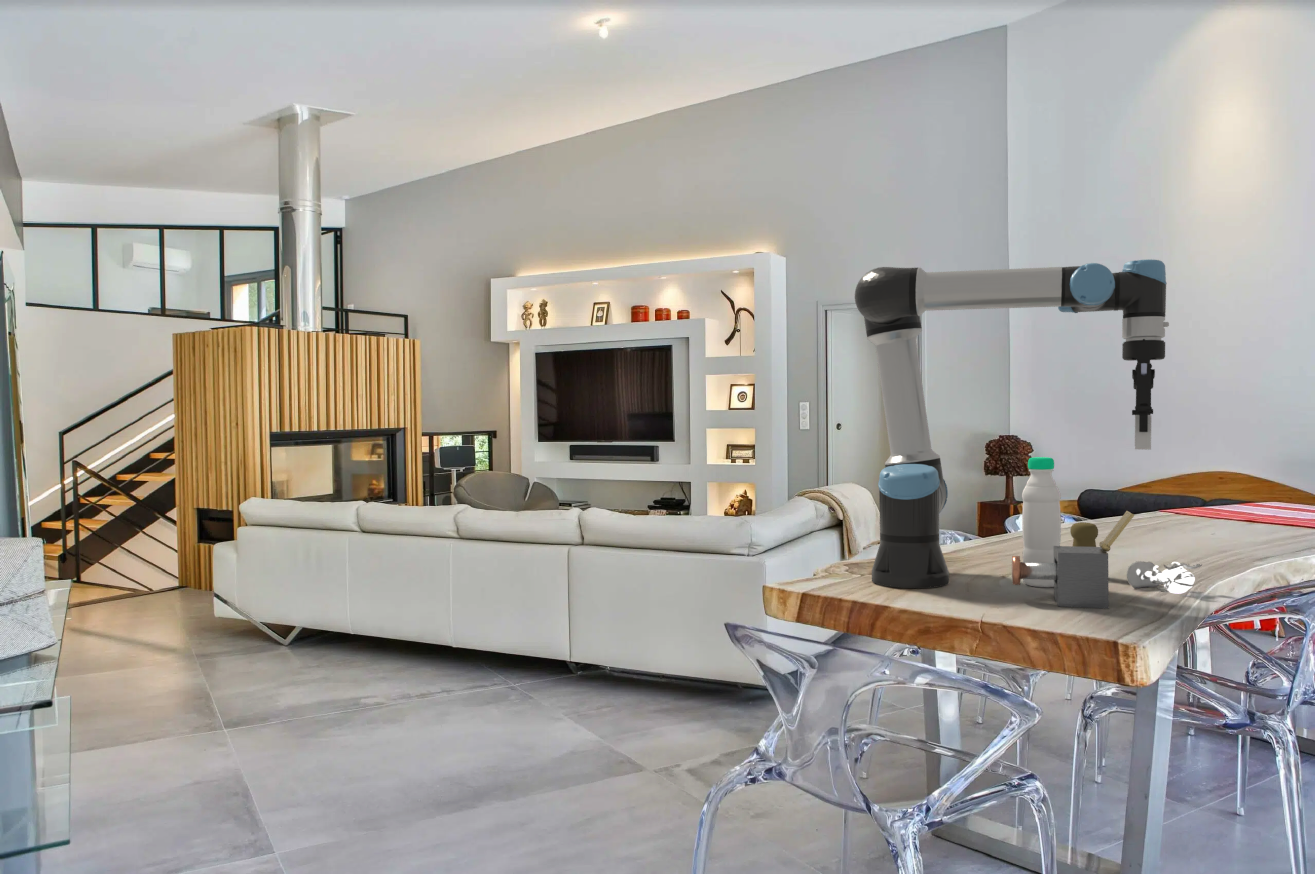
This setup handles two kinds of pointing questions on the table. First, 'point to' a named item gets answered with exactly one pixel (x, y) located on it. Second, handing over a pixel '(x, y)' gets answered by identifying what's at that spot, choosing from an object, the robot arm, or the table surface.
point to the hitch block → (1081, 577)
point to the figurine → (1161, 576)
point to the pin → (1032, 570)
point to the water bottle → (1040, 516)
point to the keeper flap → (1116, 531)
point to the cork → (1084, 534)
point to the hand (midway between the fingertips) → (1142, 448)
